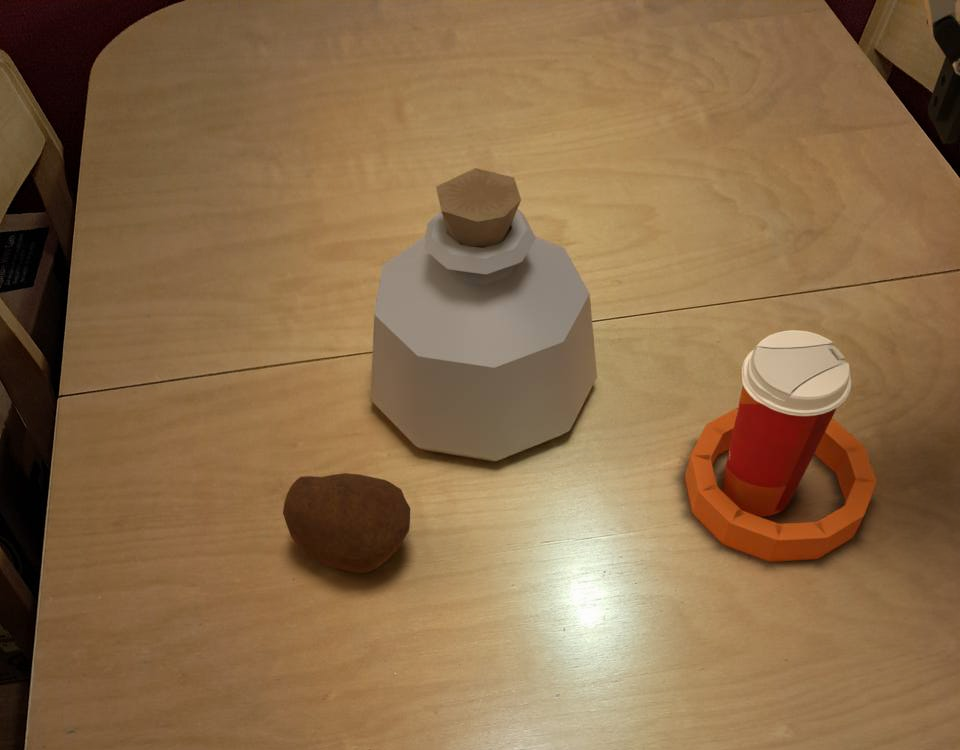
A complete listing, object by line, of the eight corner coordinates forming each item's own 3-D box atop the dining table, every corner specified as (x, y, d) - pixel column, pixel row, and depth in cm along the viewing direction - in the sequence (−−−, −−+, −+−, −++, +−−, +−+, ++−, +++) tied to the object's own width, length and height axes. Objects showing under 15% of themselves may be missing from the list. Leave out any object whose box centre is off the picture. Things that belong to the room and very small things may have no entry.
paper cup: (776, 447, 83) (823, 314, 71) (820, 514, 79) (877, 386, 67) (692, 470, 82) (725, 339, 70) (732, 539, 78) (775, 414, 66)
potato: (299, 513, 80) (281, 447, 73) (418, 517, 80) (411, 451, 73) (286, 587, 76) (265, 525, 69) (410, 591, 76) (402, 529, 69)
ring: (838, 424, 84) (848, 399, 81) (882, 557, 77) (895, 534, 74) (674, 433, 84) (680, 408, 81) (702, 567, 76) (709, 544, 74)
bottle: (596, 474, 81) (620, 288, 65) (363, 468, 82) (330, 282, 66) (594, 313, 92) (614, 117, 76) (387, 308, 93) (364, 114, 77)
